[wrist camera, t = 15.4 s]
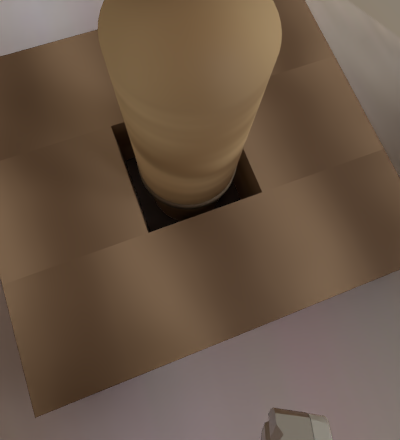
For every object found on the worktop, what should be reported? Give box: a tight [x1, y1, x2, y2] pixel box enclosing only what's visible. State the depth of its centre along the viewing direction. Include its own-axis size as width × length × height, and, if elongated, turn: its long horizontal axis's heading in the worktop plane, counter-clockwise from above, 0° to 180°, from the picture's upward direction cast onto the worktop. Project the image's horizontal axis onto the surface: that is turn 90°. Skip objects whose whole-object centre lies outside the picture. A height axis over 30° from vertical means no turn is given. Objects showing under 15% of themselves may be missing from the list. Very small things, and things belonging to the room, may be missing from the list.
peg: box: [98, 0, 282, 221], centre depth 14 cm, size 4×4×12 cm
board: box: [0, 0, 400, 418], centre depth 18 cm, size 18×16×4 cm
